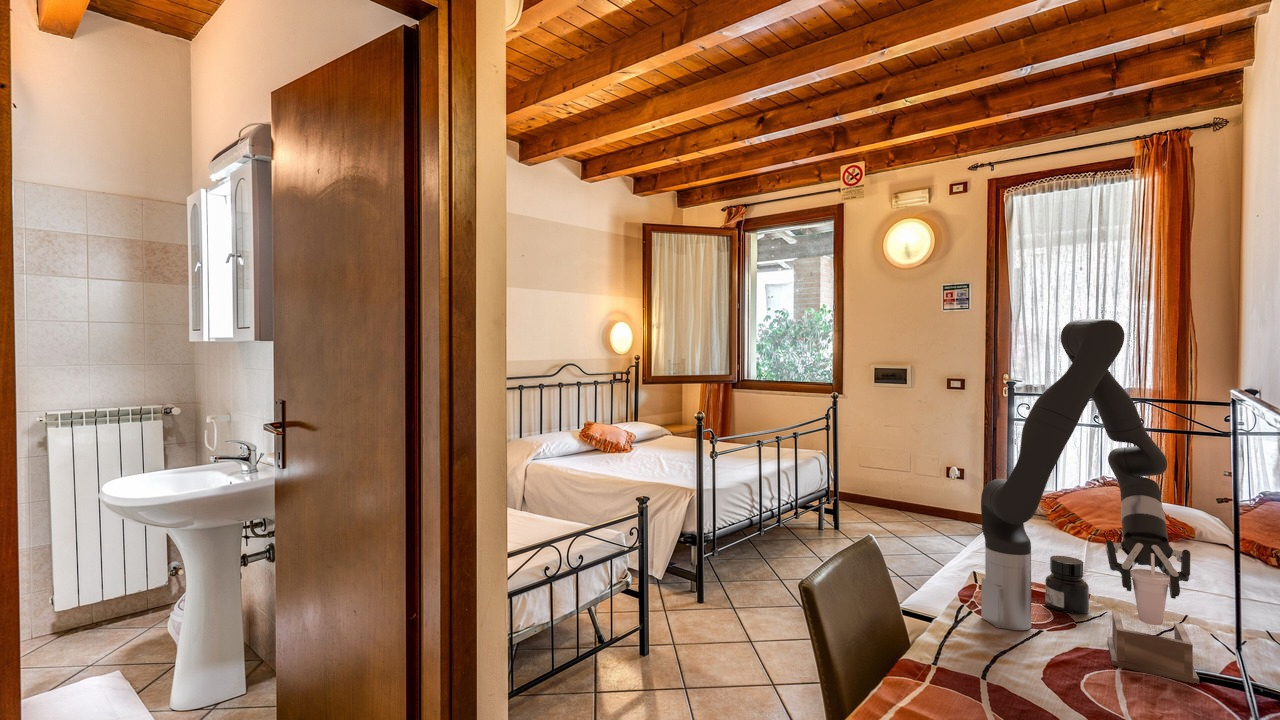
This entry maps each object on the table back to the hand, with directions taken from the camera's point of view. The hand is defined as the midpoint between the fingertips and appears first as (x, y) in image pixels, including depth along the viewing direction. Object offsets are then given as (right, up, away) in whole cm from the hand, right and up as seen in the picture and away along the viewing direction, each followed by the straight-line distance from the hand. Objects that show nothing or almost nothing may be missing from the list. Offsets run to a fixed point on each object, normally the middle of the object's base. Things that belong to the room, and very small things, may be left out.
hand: (1151, 592), depth 122 cm
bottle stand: (+1, -14, +1) cm, 15 cm away
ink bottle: (+3, -15, +28) cm, 32 cm away
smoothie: (+1, -7, +1) cm, 7 cm away
